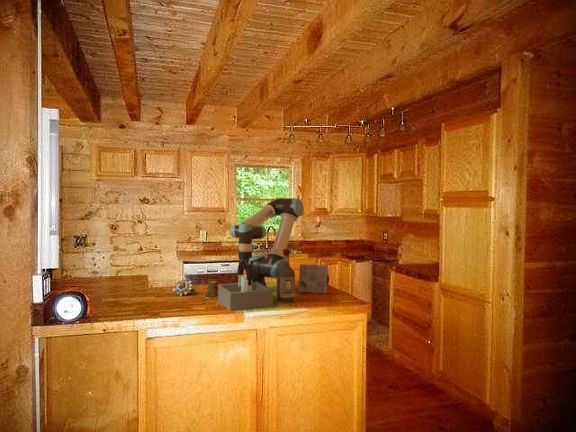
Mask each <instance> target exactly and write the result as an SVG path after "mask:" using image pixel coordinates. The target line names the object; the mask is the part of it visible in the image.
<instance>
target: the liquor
mask: <svg viewBox="0 0 576 432" xmlns="http://www.w3.org/2000/svg"><path fill="white" fill-rule="evenodd" d="M295 289H296V273H295V271H294V270H293V268H292V267H291V266H290V248H286V249H283V266H282V267H281V268H280V269H279V270H278V272H277V278H276V300H277V301H278V302H279V301H280V302H279V303H284V302H285V303H293V302H295V301H296V299H295V298H296V297H295V294H296V293H295V292H296V290H295ZM292 301H293V302H292Z"/></svg>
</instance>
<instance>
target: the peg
mask: <svg viewBox="0 0 576 432" xmlns="http://www.w3.org/2000/svg"><path fill="white" fill-rule="evenodd" d="M246 278H247V275H243V276H242V277H241V292H248V291H246V285H247V280H246Z"/></svg>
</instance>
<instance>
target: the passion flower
mask: <svg viewBox="0 0 576 432" xmlns="http://www.w3.org/2000/svg"><path fill="white" fill-rule="evenodd" d="M191 283H192V280H188V281H187V279H186V278H184V277H183V279H181V280H178V281H176V283H175V286H174V288H172V289H171V291H172V292H175V291H176V295H177V296H178V295H179V297H182V296H183V295H187V294H188V291H190V292H191V295H193V296H194V295H195V294H196V290H195V285H194V283H192V284H191Z"/></svg>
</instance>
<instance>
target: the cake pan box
mask: <svg viewBox="0 0 576 432" xmlns="http://www.w3.org/2000/svg"><path fill="white" fill-rule="evenodd" d="M298 275H299V276H298V292H299V293H307V292H308V293H310V294H327V293H328V285H329V281H330V277H329V265H322V264H305V263H301V264H299V273H298Z"/></svg>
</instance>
